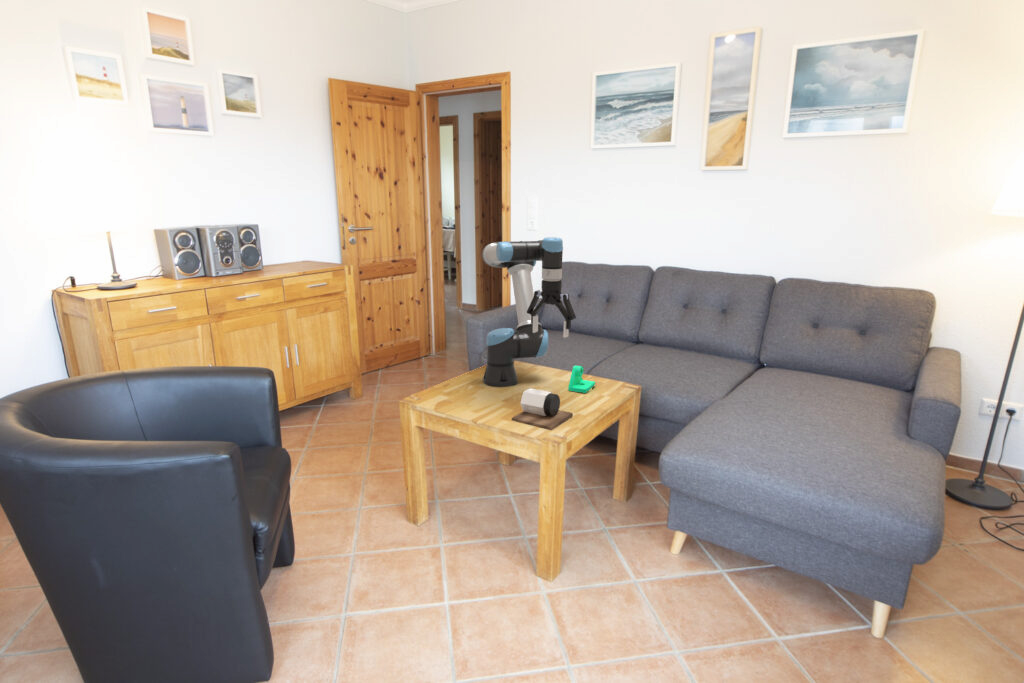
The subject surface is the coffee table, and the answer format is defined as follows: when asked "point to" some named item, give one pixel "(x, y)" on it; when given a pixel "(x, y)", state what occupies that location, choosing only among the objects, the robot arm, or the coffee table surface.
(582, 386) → the camera mount
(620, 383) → the coffee table surface
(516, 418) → the plinth
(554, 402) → the jar
